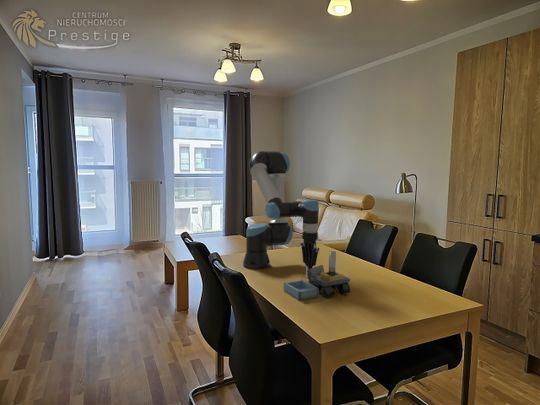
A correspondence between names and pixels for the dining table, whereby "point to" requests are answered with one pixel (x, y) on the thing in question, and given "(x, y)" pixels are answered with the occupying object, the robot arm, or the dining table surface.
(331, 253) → the pin
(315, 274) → the electrical switch
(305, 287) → the tray
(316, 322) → the dining table surface
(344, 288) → the trolley
